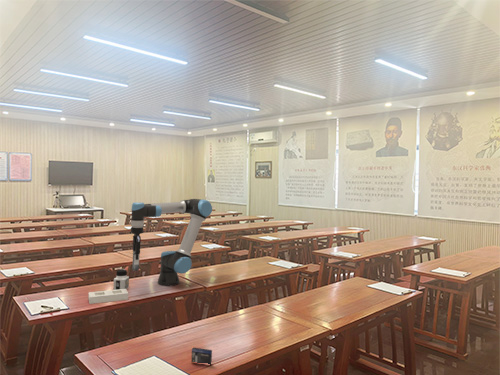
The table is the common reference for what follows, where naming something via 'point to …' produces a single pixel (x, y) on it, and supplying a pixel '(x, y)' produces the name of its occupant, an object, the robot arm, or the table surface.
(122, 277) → the container
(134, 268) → the pin
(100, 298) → the white slotted block
